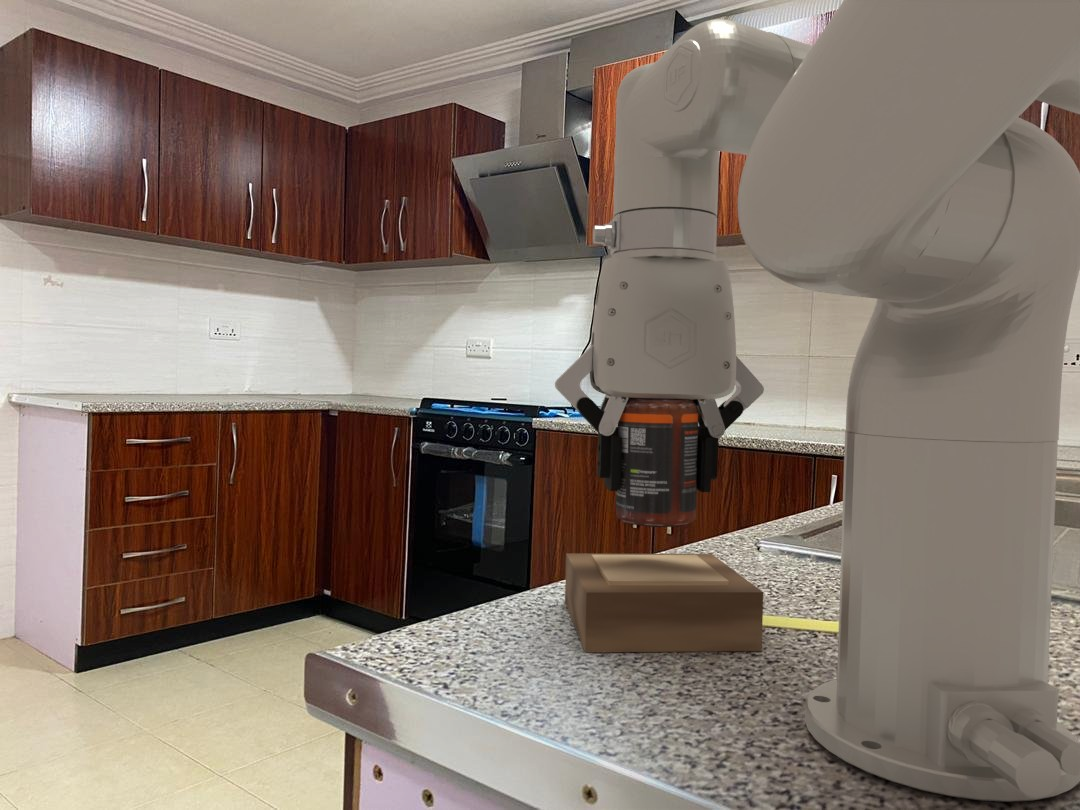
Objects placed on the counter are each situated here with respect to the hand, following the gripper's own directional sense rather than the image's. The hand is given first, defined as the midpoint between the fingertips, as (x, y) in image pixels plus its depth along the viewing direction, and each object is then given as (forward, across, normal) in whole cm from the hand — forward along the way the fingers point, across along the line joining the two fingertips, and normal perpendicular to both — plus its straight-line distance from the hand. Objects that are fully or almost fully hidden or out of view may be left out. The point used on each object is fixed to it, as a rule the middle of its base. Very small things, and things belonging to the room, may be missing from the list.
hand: (656, 486), depth 61 cm
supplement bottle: (+3, 0, 0) cm, 3 cm away
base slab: (+10, 0, 0) cm, 10 cm away
